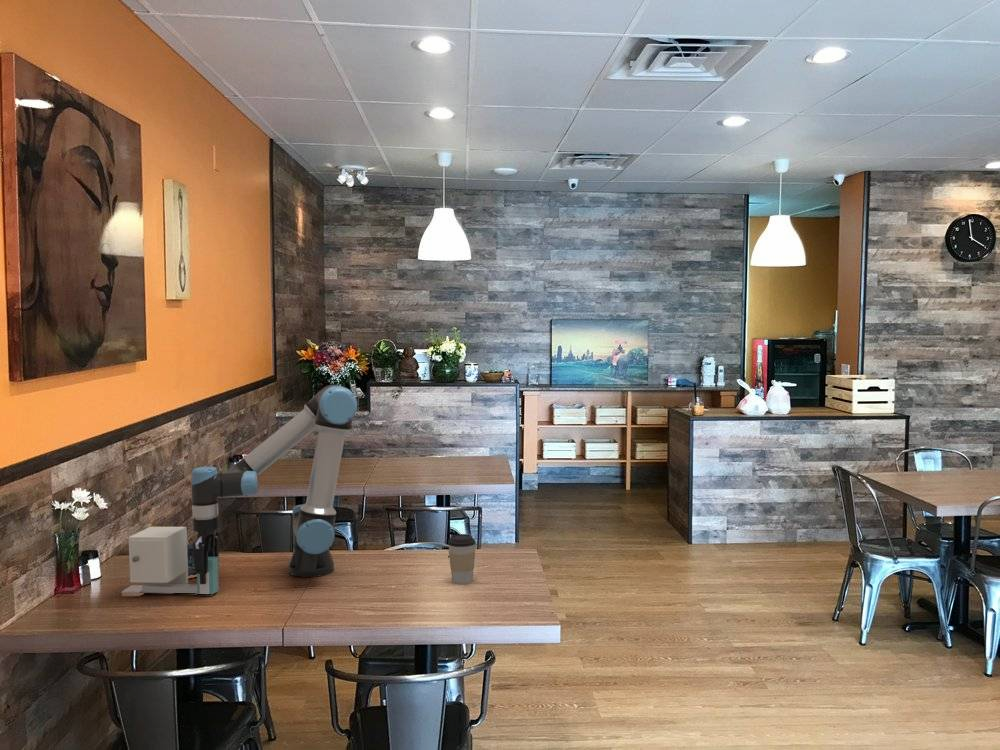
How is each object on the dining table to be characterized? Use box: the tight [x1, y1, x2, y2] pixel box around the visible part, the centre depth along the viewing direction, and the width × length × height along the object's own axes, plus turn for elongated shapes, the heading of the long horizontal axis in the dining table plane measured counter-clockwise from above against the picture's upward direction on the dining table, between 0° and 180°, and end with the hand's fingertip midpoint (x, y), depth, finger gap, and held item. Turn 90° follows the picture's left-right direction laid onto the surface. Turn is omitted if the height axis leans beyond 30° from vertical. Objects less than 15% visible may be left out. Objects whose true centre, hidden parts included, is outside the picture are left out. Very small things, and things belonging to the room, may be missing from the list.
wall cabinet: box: [128, 526, 189, 584], centre depth 245 cm, size 12×14×20 cm
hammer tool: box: [142, 556, 220, 595], centre depth 244 cm, size 23×4×11 cm, turn 86°
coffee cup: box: [447, 533, 477, 585], centre depth 254 cm, size 9×9×15 cm
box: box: [187, 543, 196, 576], centre depth 261 cm, size 8×6×11 cm
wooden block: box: [120, 584, 144, 594], centre depth 246 cm, size 6×6×2 cm
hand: (208, 590), depth 244 cm, fingers closed on hammer tool, 4 cm apart
